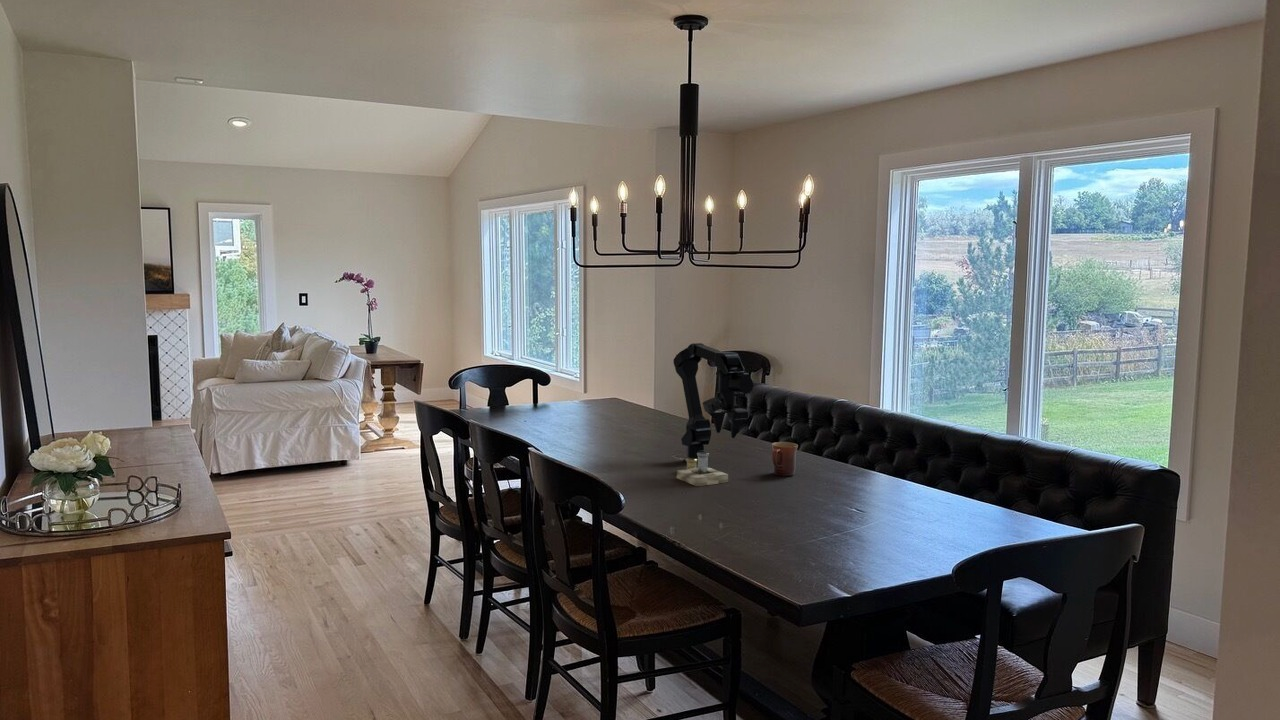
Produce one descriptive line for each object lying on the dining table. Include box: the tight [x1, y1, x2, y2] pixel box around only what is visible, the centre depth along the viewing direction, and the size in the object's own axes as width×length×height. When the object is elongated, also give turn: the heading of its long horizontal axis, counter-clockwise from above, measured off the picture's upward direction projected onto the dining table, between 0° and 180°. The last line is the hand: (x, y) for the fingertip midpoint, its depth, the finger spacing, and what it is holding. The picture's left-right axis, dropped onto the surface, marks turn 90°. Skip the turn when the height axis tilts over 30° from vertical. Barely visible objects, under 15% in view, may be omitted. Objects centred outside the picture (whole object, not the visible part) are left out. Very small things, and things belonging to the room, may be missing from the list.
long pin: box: [697, 451, 710, 474], centre depth 285 cm, size 4×4×9 cm
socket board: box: [676, 467, 729, 487], centre depth 285 cm, size 12×12×3 cm
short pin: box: [685, 457, 697, 469], centre depth 296 cm, size 4×4×5 cm
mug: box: [771, 441, 799, 477], centre depth 293 cm, size 12×9×10 cm
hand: (725, 435), depth 296 cm, fingers open, 9 cm apart
